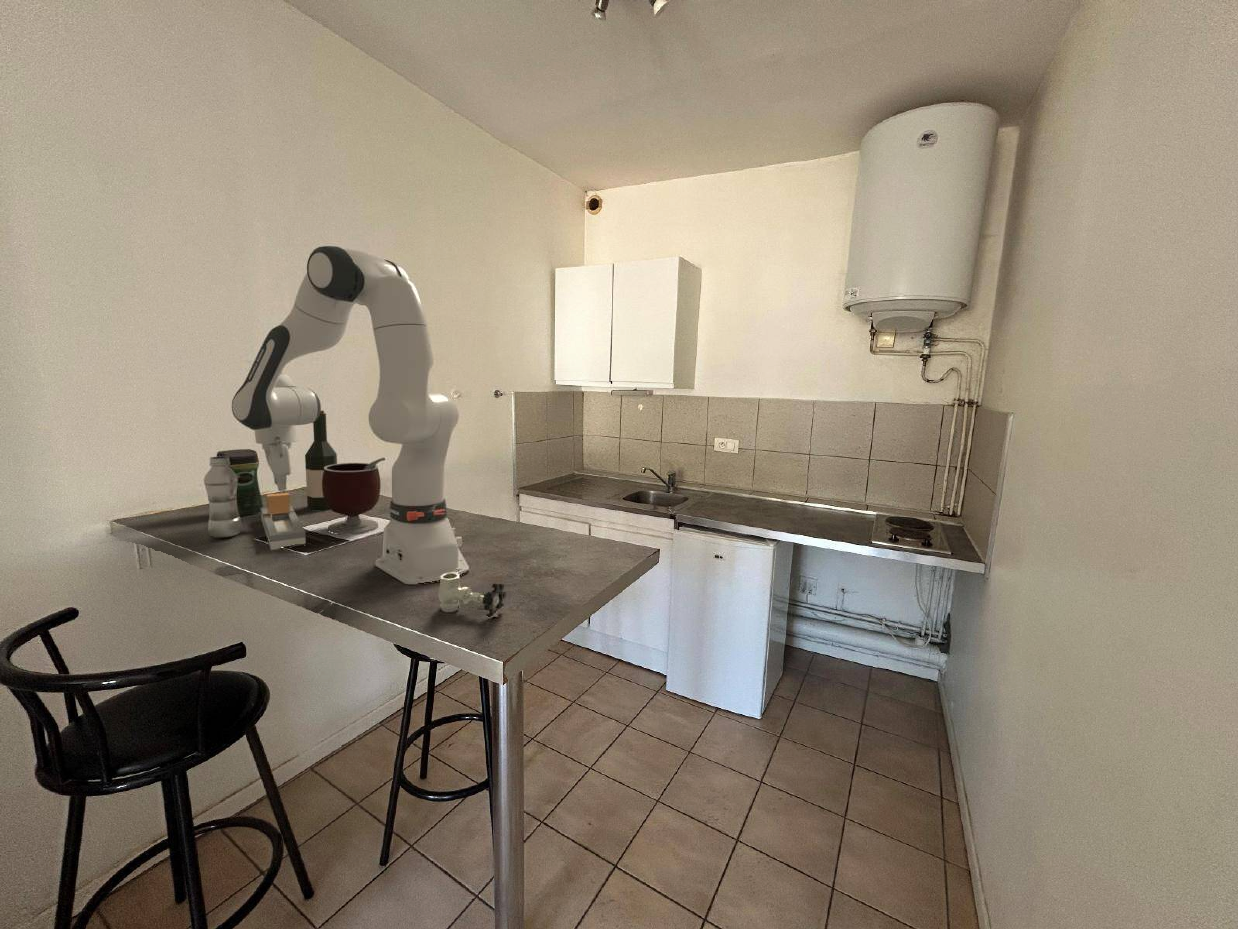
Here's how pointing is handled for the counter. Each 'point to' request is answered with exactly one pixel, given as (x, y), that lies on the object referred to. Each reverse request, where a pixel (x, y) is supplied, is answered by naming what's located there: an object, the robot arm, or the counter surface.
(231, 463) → the coffee jar
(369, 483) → the mate gourd
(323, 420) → the wine bottle
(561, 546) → the counter surface
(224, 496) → the silver ridged bottle
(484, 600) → the valve
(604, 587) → the counter surface
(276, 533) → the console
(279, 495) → the fader knob
